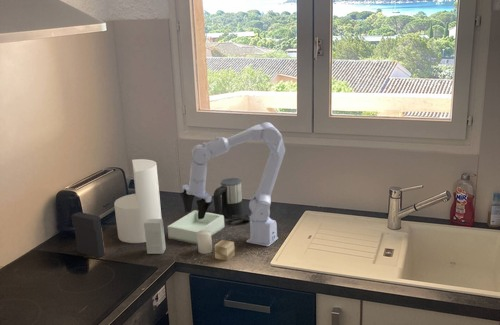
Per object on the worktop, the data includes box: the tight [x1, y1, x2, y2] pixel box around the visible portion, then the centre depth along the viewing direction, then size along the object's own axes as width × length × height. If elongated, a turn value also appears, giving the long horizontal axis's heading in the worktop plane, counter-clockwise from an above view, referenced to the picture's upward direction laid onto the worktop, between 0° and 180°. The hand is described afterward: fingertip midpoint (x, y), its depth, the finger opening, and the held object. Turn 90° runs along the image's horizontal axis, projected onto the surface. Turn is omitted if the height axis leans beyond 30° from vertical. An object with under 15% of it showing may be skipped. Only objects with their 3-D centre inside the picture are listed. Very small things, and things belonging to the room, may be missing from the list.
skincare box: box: [144, 218, 167, 255], centre depth 194 cm, size 6×4×12 cm
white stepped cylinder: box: [113, 158, 163, 244], centre depth 208 cm, size 17×17×28 cm
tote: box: [167, 209, 225, 246], centre depth 210 cm, size 14×18×5 cm
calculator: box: [70, 211, 106, 259], centre depth 194 cm, size 11×4×15 cm, turn 59°
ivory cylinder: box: [197, 230, 213, 255], centre depth 194 cm, size 5×5×7 cm
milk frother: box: [213, 177, 251, 222], centre depth 222 cm, size 14×16×15 cm
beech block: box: [214, 239, 236, 262], centre depth 189 cm, size 5×5×5 cm
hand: (194, 214), depth 194 cm, fingers open, 7 cm apart
